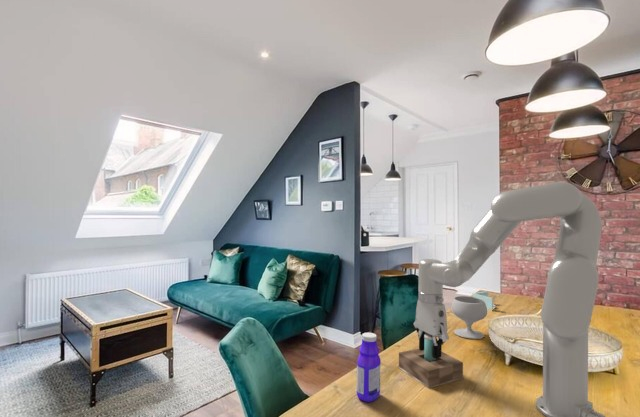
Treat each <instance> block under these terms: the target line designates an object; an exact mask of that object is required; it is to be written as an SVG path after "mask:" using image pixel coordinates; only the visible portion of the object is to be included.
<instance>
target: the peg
mask: <svg viewBox="0 0 640 417" xmlns="http://www.w3.org/2000/svg"><path fill="white" fill-rule="evenodd" d="M433 345H434V342H433V337H432V335H430V334H428V333H425V334H424V359H425V360H426V361H428V362H433V361H436V358H433V357H432V346H433Z"/></svg>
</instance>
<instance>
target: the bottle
mask: <svg viewBox="0 0 640 417" xmlns="http://www.w3.org/2000/svg"><path fill="white" fill-rule="evenodd" d="M377 340H378V338H377V334H376V333H373V332H364V333H362V334H361V344H360V347H359V349H358V351H359V355H358V358H357V361H356V397H357V398H358V399H360V400H361V401H363V402H367V403H371V402H373V401H375V400H377V399H378V398H379V396H380V394H381V365H382V364H381V363H382V361H381V357H380V355H379V353H380V349H379V347H378V343H377Z"/></svg>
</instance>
